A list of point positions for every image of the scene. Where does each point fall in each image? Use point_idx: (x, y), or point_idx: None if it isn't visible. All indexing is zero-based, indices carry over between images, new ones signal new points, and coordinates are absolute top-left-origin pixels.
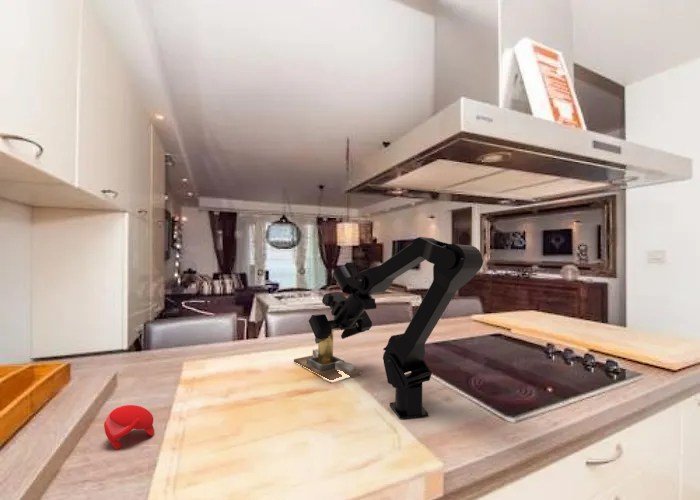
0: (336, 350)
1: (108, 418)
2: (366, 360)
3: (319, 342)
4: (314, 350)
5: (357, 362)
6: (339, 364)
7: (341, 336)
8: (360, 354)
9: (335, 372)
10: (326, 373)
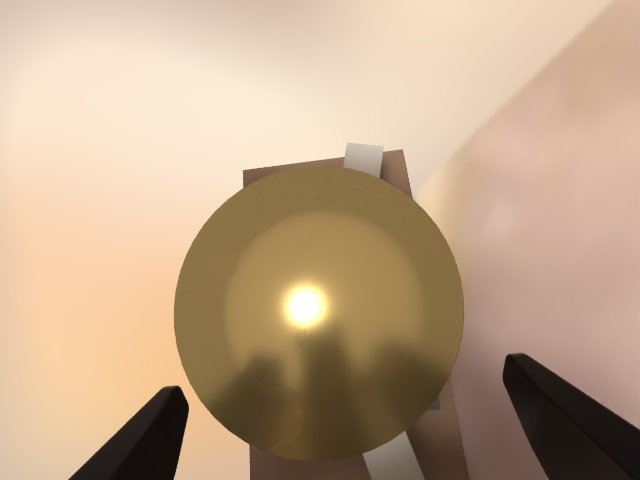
0: (522, 105)
1: None
2: (631, 328)
3: (172, 468)
4: (347, 163)
5: (558, 331)
6: (370, 474)
7: (509, 367)
8: (637, 216)
9: (331, 476)
10: (278, 460)
